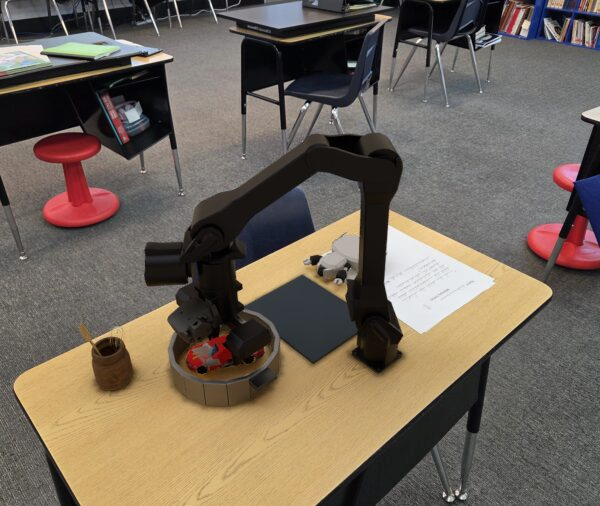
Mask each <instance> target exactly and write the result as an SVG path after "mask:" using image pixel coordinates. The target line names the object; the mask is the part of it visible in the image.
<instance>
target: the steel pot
mask: <svg viewBox="0 0 600 506" xmlns="http://www.w3.org/2000/svg"><path fill="white" fill-rule="evenodd" d="M238 316H240V317H241V318H242V319H244V320H245V321H248V320H250V319H252V318H254V319H257V320H259V321H260V322H261V323H263V324H264V325H265V326H266V327H268V328H269V329H270V330H271V334H272V341H271V343H270V344H268V345H267V346H269V347H270V349H271V351H272V352H271V354H270V355H269V357H268V358H267V359H266V360H265V362H264V364H262V365H261V366H259V367H257V368H256V369H254V370H253V371H251V372H249V373H248V374H246V375H243V376H239V377H235V378H231V379H228V380H219V379H218V380H216V379H215V380H214V379H204V378H201V377H198V376H196V375H194V374H190V373H187V371H185V369H183V368H182V366H181V365H180V364H179V363H180V359H181V356H182V355H183V354H184V353H185V352H186V351H187V350H188V348H189V347H190V346H191V345H192V344H193V343H191V344H188V343H186V342H185V341H184V340H183V339H182V338H181V337H180V336H179V335H178V334H177V333H176V332H175V331H174V332H173V333H172V335H171V338H170V340H169V344H168V346H167V355H168V360H169V365H170V372H171V376H172V381H173V385H174V387H175V388H176V389H177V390H178V391H179V392H180V393H181V395H183V397H185V398H186V399H187V400H189V401H192V402H194V403H197V404H200V405H202V406H205V407H223V408H224V407H225V408H226V407H234V406H237V405H240V404H243V403H247V402H251V401H253V400H254V399H256V398H257V397H259V396H260V395H262V394H263V393H265V392H266V391H268V390H269V389H270V388H271V386H272V385H273V383H274V382H275V381H276V380H277V379H278V376H279V373H280V366H281V338H280V336H279V334H278V332H277V330H276V328H275V326H274V324H273V323H272V322H271V321H269V320H268V319H267V318H265V317H264V316H263V315H261V314H260V313H257V312H254V311H250V310H247V309H244V310H243V311H241V312H239V313H238ZM230 331H231V329H230V328H229V327H228V326H226V325H224V326H222V327H220V332H219V333H223V332H230ZM194 343H197V341H195V342H194Z"/></svg>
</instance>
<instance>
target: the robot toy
mask: <svg viewBox="0 0 600 506" xmlns="http://www.w3.org/2000/svg"><path fill="white" fill-rule="evenodd" d="M348 231H349V230H348V229H347V230H345V231H344V232H342V234H340V235H339V236H338V237H337V238H335V239H334V240H333V241H332V242H331V252H329V253H326V255H322V254H314V255H313V254H312V255H309V258H304V259H303V260H302V263H303V265H304V266H310V265H311V266H312V267H314V266H315V267H316V270H317V271H316V274H317V276H319V277H321V278H323V279H324V280H330V279H334V280H333V285H334V286H342V285H343V284H344V283H345V282H346V279H347V277H348V273H347V272H350V270H351V269H353V270H356V271H358V259H359V235H356V234H347V233H348ZM388 253H389V252H387V251H386V256H387V255H388Z"/></svg>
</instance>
